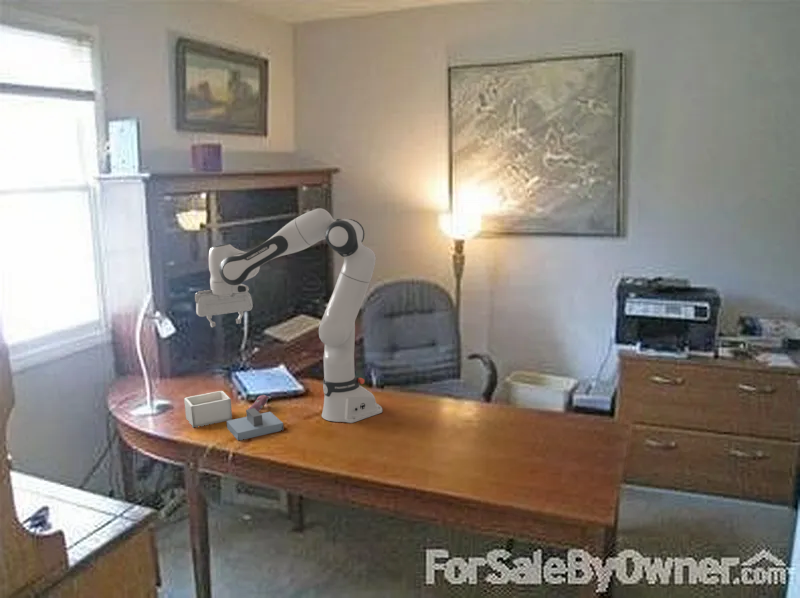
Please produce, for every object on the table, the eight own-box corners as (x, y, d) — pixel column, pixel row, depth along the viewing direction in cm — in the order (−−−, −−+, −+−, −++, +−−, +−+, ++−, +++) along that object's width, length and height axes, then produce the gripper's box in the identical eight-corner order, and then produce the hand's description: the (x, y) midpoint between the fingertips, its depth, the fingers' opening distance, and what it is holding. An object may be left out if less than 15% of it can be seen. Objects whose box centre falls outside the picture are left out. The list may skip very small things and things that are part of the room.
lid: (270, 418, 233) (269, 402, 232) (283, 430, 222) (282, 413, 221) (227, 428, 225) (225, 411, 224) (238, 440, 214) (236, 423, 213)
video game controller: (255, 419, 237) (262, 403, 235) (245, 413, 237) (251, 398, 235) (265, 409, 246) (272, 394, 245) (255, 404, 247) (262, 389, 245)
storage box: (223, 410, 242) (222, 390, 241) (232, 419, 233) (230, 398, 231) (185, 418, 235) (184, 397, 234) (193, 428, 226) (191, 406, 224)
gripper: (196, 292, 225) (199, 330, 228) (252, 286, 236) (255, 323, 238) (192, 290, 231) (195, 327, 233) (247, 284, 241) (249, 320, 244)
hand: (226, 325), depth 236 cm, fingers open, 8 cm apart
